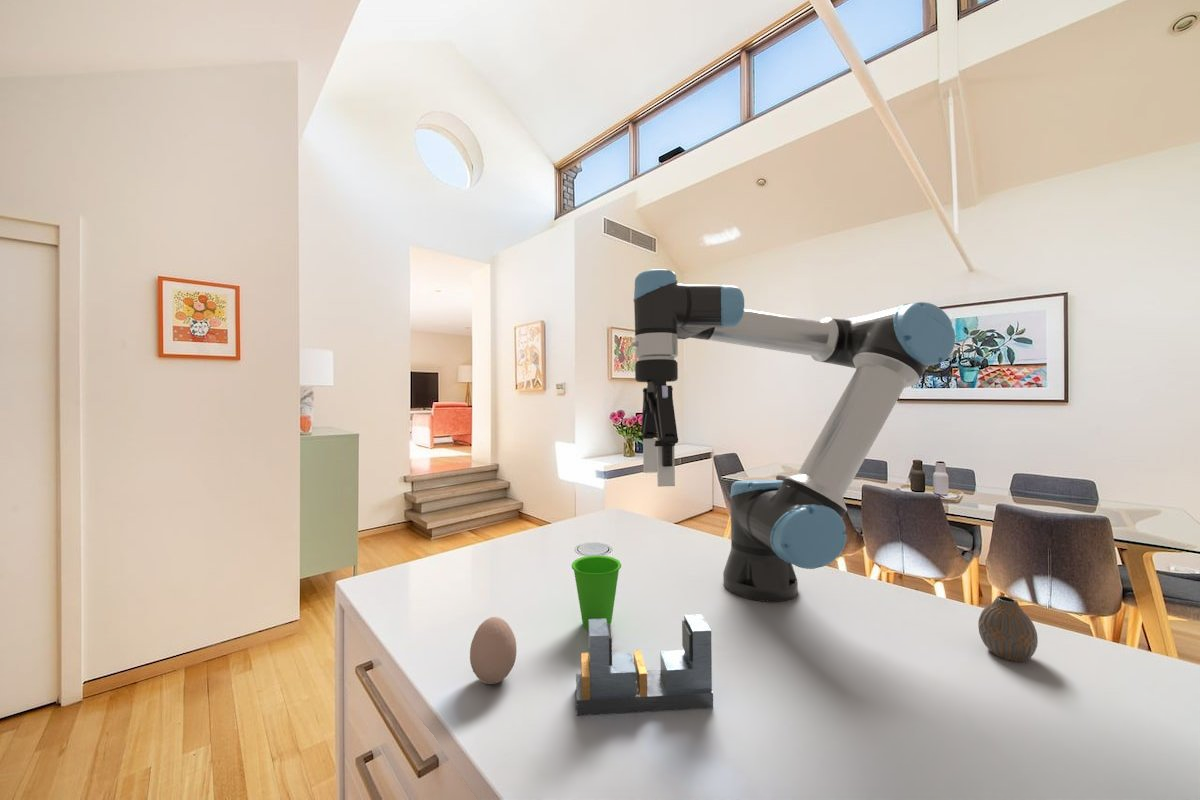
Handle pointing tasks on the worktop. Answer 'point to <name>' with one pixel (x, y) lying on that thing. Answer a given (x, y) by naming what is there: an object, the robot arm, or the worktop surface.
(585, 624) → the cup
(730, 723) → the worktop surface
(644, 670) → the rail
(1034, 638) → the vase
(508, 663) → the egg
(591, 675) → the l-shaped step block
